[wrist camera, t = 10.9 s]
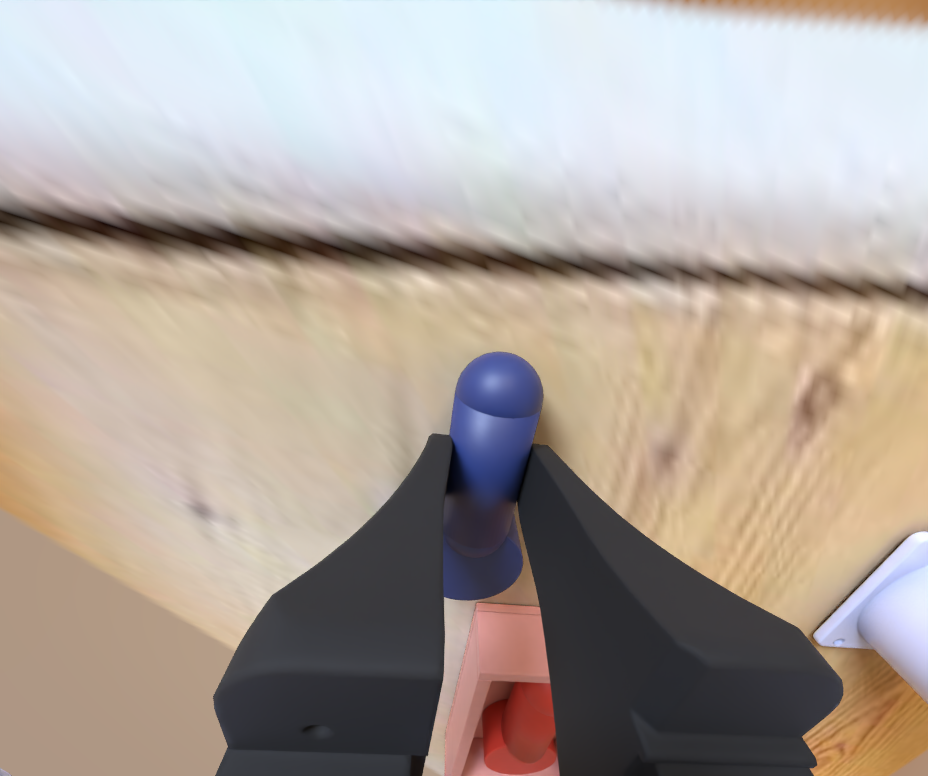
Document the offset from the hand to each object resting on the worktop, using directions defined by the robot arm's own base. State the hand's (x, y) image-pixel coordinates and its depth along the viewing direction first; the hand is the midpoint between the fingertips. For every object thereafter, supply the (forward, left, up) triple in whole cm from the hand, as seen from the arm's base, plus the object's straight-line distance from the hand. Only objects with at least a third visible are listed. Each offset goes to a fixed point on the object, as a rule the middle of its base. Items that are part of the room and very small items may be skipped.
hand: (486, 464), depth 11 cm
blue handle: (0, +1, -1) cm, 2 cm away
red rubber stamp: (-5, +16, -1) cm, 17 cm away
